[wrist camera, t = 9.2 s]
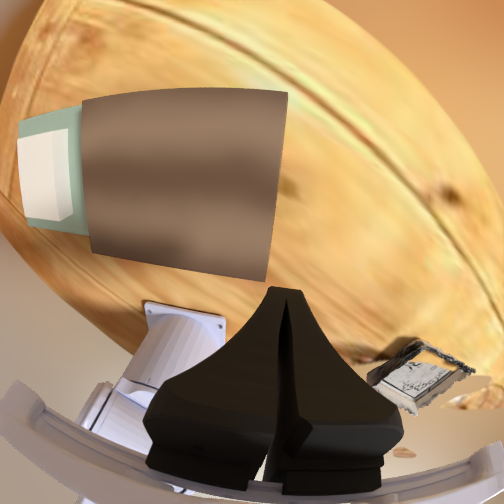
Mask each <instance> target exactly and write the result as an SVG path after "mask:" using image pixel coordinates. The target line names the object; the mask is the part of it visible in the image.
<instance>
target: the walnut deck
mask: <svg viewBox="0 0 504 504" xmlns="http://www.w3.org/2000/svg"><path fill="white" fill-rule="evenodd" d="M287 104H288V92H281V91H272V90H260V89H244V88H175V89H160V90H149V91H139V92H131V93H123V94H117V95H110V96H104V97H99V98H93V99H88V100H84V101H82V116H81V156H82V176H83V189H84V200H85V209H86V217H87V225H88V231H89V238H90V244H91V250H92V253H96V254H101V255H106V256H111V257H117V258H122V259H127V260H133V261H138V262H144V263H149V264H155V265H160V266H166V267H172V268H178V269H184V270H190V271H196V272H202V273H208V274H214V275H221V276H227V277H233V278H240V279H247V280H253V281H260V282H265V279H266V273H267V268H268V262H269V255H270V247H271V239H272V232H273V224H274V216H275V208H276V200H277V192H278V184H279V175H280V167H281V158H282V149H283V141H284V132H285V122H286V113H287Z"/></svg>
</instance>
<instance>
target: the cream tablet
mask: <svg viewBox="0 0 504 504" xmlns="http://www.w3.org/2000/svg"><path fill="white" fill-rule="evenodd" d="M17 146H18V165H19V176H20V186H21V193H22V201H23V207H24V213H25V217H30V218H38V219H45V220H53V221H61V220H63V219H65V218H66V217H68V216H70V215H72V214H73V207H72V198H71V189H70V177H69V161H68V129H61V130H56V131H50V132H45V133H41V134H36V135H32V136H28V137H24V138H20V139H17Z"/></svg>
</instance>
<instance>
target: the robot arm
mask: <svg viewBox="0 0 504 504" xmlns="http://www.w3.org/2000/svg"><path fill="white" fill-rule="evenodd" d="M144 308H145V313H146V319H147V324H148V329H149V332H148V333H147V335H146V337H145V338H144V340H143V341H142V343H141V345H140V346H139V348H138V350H137V351H136V353H135V355H134V356H133V358H132V360H131V362H130V363H129V365H128V367H127V368H126V370H125V372H124V373H123V375H122V377H121V378H120V379H119V381H118V382H117V384H116V385H115V387H114V388H112V387H113V384H111V383H110V382H108V381H107V382H105V383H98V385H97V386H96V388H95V389H94V391H93V392H92V394H91V395H90V397H89V398H88V400H87V402H86V403H85V405H84V407H83V409H82V410H81V412H80V414H79V416H78V418H77V419H76V421H75V423H74V422H72V421H71V420H69V419H67V418H65V417H64V416H62V415H60V414H59V413H57V412H55V411H54V410H52V409H51V408H49V407H47V406H46V405H45V403H44V401H43V400H42V399H41V398H40V397H39V395H38V394H36V393H35V392H34V391H33V390H32V389H30V388H29V387H27V386H26V385H24V384H23V383H22V382H20V381H19V380H15V381H14V383H13V384H12V386H11V387H10V388H9V389H8V391H7V392H6V394H5V395H4V397H3V398H2V399H1V401H0V434H1V435H2V436H3V437H4V438H5V439H6V440H7V441H8V442H9V443H10V444H12V445H13V446H14V447H15V448H16V449H17V450H18V451H20V452H21V453H22V454H23V455H24V456H26V457H27V458H28V459H29V460H30V461H32V462H33V463H34V464H36V465H37V466H38V467H39V468H41V469H42V470H43V471H45V472H46V473H47V474H49V475H50V476H51V477H53V478H54V479H56V480H58V481H59V482H60V483H62V484H63V485H65V486H66V487H68V488H69V489H71V490H73V491H74V492H76V493H78V494H79V495H80V496H79V497H78V499H77V501H76V503H75V504H257V503H249V502H241V501H232V500H224V499H212V498H201V497H195V496H192V494H194V493H195V492H201V493H205V494H209V495H214V496H219V497H225V498H230V499H237V500H244V501H251V502H261V503H272V504H341V503H351V504H481V503H483V502H485V501H487V500H488V499H490V498H491V497H493V496H495V495H497V494H498V493H500V492H502V491H503V490H504V449H503V446H502V443H501V440H498V441H496V442H494V443H491V444H489V445H487V446H485V447H483V448H481V449H479V450H478V451H476V452H475V453H474V454H472V455H471V456H470V457H469V458H466V459H463V460H461V461H458V462H455V463H452V464H448V465H445V466H442V467H438V468H435V469H431V470H427V471H423V472H419V473H415V474H410V475H405V476H399V477H394V478H388V479H381V470H380V467H382V466H383V465H384V457H383V455H384V454H386V453H387V452H388V451H389V450H391V449H392V448H393V447H394V446H395V445H396V444H397V443H398V442H399V441H400V440H401V439H402V437H403V434H404V430H403V425H402V420H401V416H400V413H399V410H398V407H397V405H396V404H395V403H393V402H392V401H390V400H389V399H387V398H386V397H385V396H383V395H382V394H380V393H379V392H377V391H376V390H375V389H374V388H372V387H371V386H370V385H369V384H368V383H367V382H365V381H364V380H363V379H362V378H360V376H359V375H357V373H356V372H355V371H354V370H353V369H352V368H351V367H350V366H349V365H348V364H347V363H346V362H345V361H344V360H343V359H342V358H341V356H340V355H339V354H338V353H337V351H336V350H335V349H334V347H333V346H332V345H331V343H330V342H329V340H328V339H327V337H326V336H325V334H324V333H323V331H322V330H321V328H320V326H319V325H318V323H317V321H316V319H315V317H314V316H313V314H312V312H311V310H310V308H309V306H308V303H307V301H306V299H305V297H304V294H303V292H302V291H301V290H296V289H288V288H281V287H274V286H271V287H269V288H268V291H267V293H266V295H265V297H264V299H263V301H262V302H261V304H260V306H259V307H258V308H257V310H256V311H255V313H254V314H253V315H252V317H251V318H250V319H249V320H248V321H247V323H246V324H245V325H244V326H243V327H242V328H241V329H240V330H239V331H238V332H237V333H236V334H235V335H234V336H233V337H232V338H231V339H230V340H229V341H228V342H227V343H226V344H225V336H226V319H225V318H224V317H222V316H218V315H213V314H207V313H202V312H197V311H192V310H187V309H182V308H177V307H172V306H167V305H163V304H158V303H154V302H149V301H148V302H146V303H145V305H144ZM219 324H220V325H222V326H219ZM266 455H267V459H266V464H265V470H264V475H263V480H262V481H255V480H254V479H255V476H256V474H257V472H258V470H259V468H260V467H261V466H262V464H263V461H264V459H265V457H266ZM352 502H353V503H352Z"/></svg>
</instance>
